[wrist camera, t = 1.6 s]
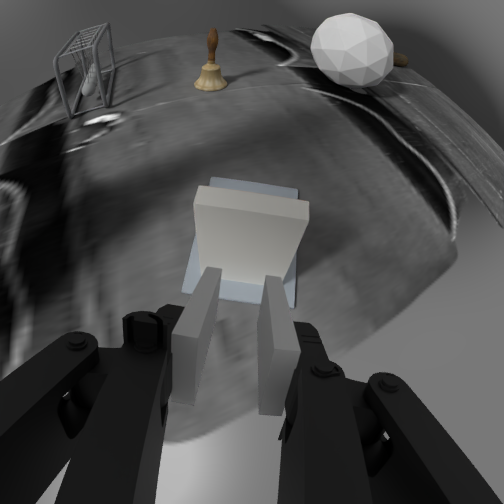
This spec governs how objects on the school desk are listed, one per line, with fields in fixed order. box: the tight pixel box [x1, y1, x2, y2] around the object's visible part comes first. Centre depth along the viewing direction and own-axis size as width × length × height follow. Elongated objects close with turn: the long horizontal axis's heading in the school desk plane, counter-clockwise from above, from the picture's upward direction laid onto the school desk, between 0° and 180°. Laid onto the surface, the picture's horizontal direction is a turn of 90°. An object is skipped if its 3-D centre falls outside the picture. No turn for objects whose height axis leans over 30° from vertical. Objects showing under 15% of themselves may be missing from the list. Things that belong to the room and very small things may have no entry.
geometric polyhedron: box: [311, 13, 393, 89], centre depth 63 cm, size 24×25×25 cm
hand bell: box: [194, 28, 227, 91], centre depth 56 cm, size 8×8×16 cm
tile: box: [193, 185, 309, 285], centre depth 31 cm, size 2×10×14 cm, turn 84°
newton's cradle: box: [53, 22, 115, 119], centre depth 53 cm, size 30×10×18 cm, turn 18°
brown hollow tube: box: [393, 52, 408, 66], centre depth 95 cm, size 15×7×7 cm, turn 116°
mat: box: [182, 177, 298, 309], centre depth 40 cm, size 20×14×1 cm
